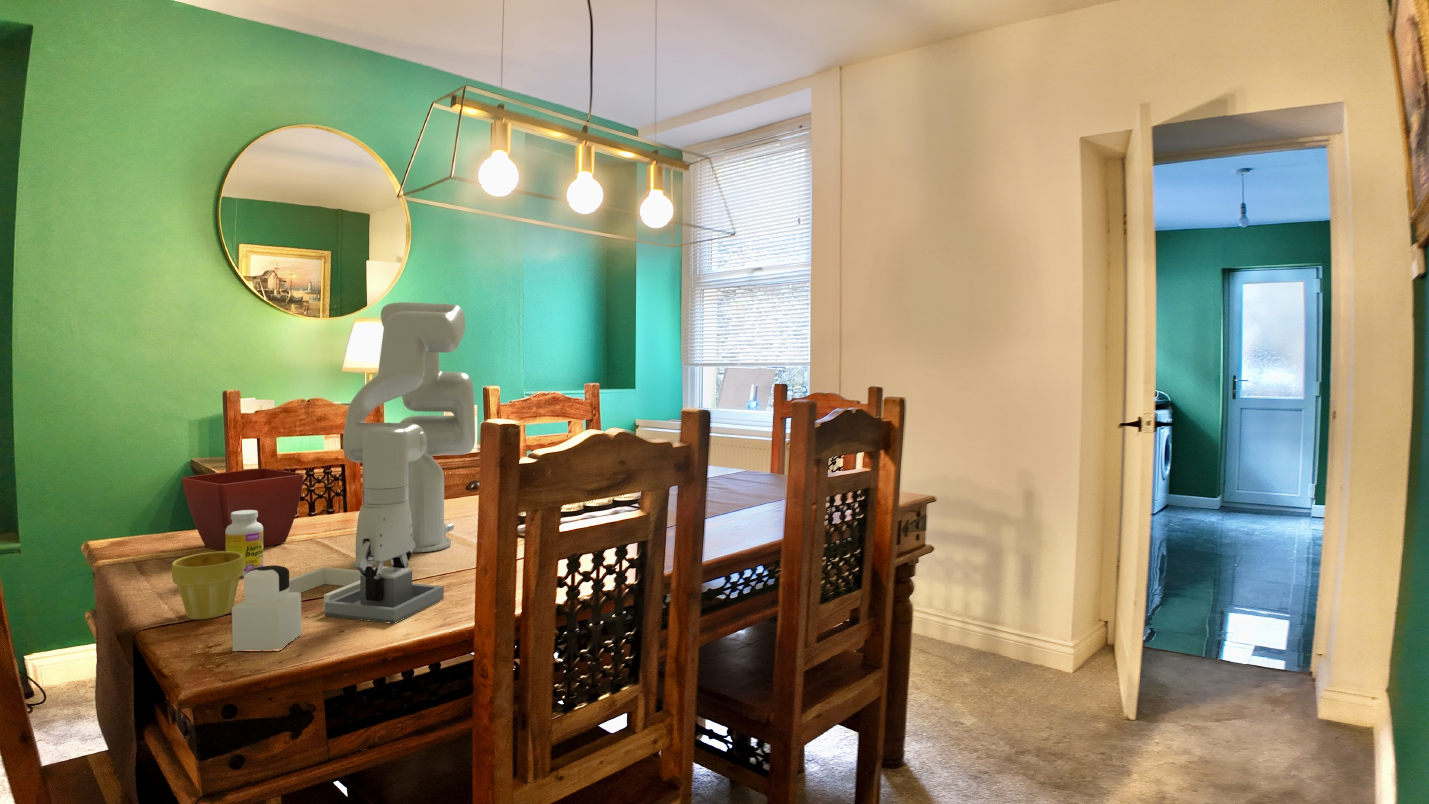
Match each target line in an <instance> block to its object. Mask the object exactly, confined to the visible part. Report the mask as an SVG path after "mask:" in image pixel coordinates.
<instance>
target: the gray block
mask: <svg viewBox="0 0 1429 804" xmlns="http://www.w3.org/2000/svg"><path fill="white" fill-rule="evenodd" d="M372 568H373V569H374V570H375V568H376V566H375V567H372ZM380 578H383V600H382V601H371V600H367V599H366V579H364V578H363V575H362V574H361V573H360V603H361V604H364V605H373V606H382V607H391V608H394V607H396V606H398V605H400V604H402V603H404V602H406V601H408V600H411V599H412V583H413V569H412V568H396V567H392V566H385V565H383V568H382V572H381V577H380Z"/></svg>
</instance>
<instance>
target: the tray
mask: <svg viewBox="0 0 1429 804" xmlns="http://www.w3.org/2000/svg"><path fill="white" fill-rule="evenodd" d="M444 587H445V586H441V585H432V584H424V583H423V584H422V583H414V582H412V599H411V600H408V601H406V602H404V603H402V604H400V605H398V606H396V607H394V608H391V607H382V606H373V605H364V604H361V603H360V588H359V589H357V590H354V591H352V592H349V593H347V594H344V595H342V596H339V597H337V598H335V599H332V600H330V601H327V602H325V611H324V616H325V617H329V616H331V617H332V618H340V619H347V618H349V620H355V619H360V620H359V621H364V620H370V621H369V622H372V621H375V622H374V623H381V622H390V623H395V622H397V621H399V620H401V619H403V618H405V619H407V618H408V617H407V616H409V617H411V616H413V615H415V614H417V613H420V612H421V611H423V610H425V609H427V608H429V607H431V606H432V604H433V605H434V603H435V604H436V603H439V602H441V601H443V600H444V599H445V596H444V595H445V593H444V591H445V589H444ZM442 599H443V600H442ZM440 600H441V601H440ZM438 601H439V602H438ZM428 606H429V607H428ZM426 607H427V608H426ZM422 609H423V610H422ZM420 610H421V611H420ZM414 613H415V614H414ZM412 614H413V615H412ZM410 615H411V616H410ZM331 617H330V618H331ZM406 617H407V618H406ZM361 619H362V620H361ZM403 620H404V619H403ZM401 621H402V620H401ZM399 622H400V621H399ZM390 623H389V624H390ZM397 623H398V622H397ZM395 624H396V623H395Z"/></svg>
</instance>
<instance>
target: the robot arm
mask: <svg viewBox="0 0 1429 804" xmlns="http://www.w3.org/2000/svg"><path fill="white" fill-rule="evenodd" d="M380 320H381V324H382V327H383V329H382V330H383V333H382V338H381V346H380V348H381V349H380V354H379V362H378V371H377V375H376V376H375V377H373V378H372V379H370V380H369V381H368V382H367V383H365V385H363V387H362V388H360V389H359V390H358V392H357V393H356V394H355V395H354V397H353V398H352V400H351V402H350V404H349V406H348V409H347V411H346V417H345V423H344V430H343V438H342V448H343V452H344V456H345V457H346V459H348V460H349V461H351V462H352V463H353V462H354V463H357V464H359V463H361V464H362V505H361V506H360V507H359V508H360V509H359V512H358V516H357V522H356V531H355V533H356V534H355V560H354V562H353V567H354V568H355V569H356V570H359V571H360V573H361V574H362V575H363V578H364V579H366V599H367V600H371V601H382V600H383V578H380V577H381V572H382V568H383V566H384V563H385V562H387V561H390V562H391V567H396V568H406V569H409V561H410V558H411V557H412V553H427V552H429V553H430V552H436V551H439V550H445V549H446V548H449V547H451V545H452V539H451V538H449V537H446V534H447V533H449V532H452V531H453V530H454V529H455V526H454V524H453V523H447V524H445V475H444V473H445V472H444V471H443V468H442V467H441V465H440V464H439V463H438V462H437V460H436V459H435V458H434V457H433V456H461V455H467V454H469V453H471V452H472V451H473V450H474V448H475V443H476V419H475V417H476V416H475V414H476V413H475V412H476V411H475V392H474V385H473V381H472V378H471V377H470V375H468V374H467V373H465V372H461V371H442V370H441V369H440V353H443V354H444V353H453V352H456V350H457V349H458V347H459V345H460V343H461V341H462V339H463V337H464V334H465V331H466V330H465V329H466V318H465V312H464V311H463V309H462V308H461V307H460V306H459V305H458V304H452V303H435V302H434V303H429V302H414V301H413V302H409V301H408V302H407V301H406V302H405V301H404V302H403V301H401V302H398V301H397V302H392V303H387V304H385V305H384V306H382V309H381V312H380ZM400 397H401V399H402V403H403V405H404V407H405V409H407V410H409V411H412V412H423V413H424V412H426V413H427V412H432V413H439V412H442V413H444V412H445V413H451V414H452V415H438V414H433V415H431V414H430V415H429V414H428V415H426V414H423V415H422V414H421V415H413V416H412V415H411V416H408V417H405V418H403V419H402V420H401V421H400V422H366V419H367V417H368V416H369V414H370V413H371V412H372V411H373V410H375V409H376V408H377V407H380V406H381V405H382V404H384V403H387V402H390V401H392V400H394V399H397V398H400ZM373 565H375V567H376V568H375V567H373ZM373 568H375V570H374V569H373Z"/></svg>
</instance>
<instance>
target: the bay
mask: <svg viewBox="0 0 1429 804" xmlns="http://www.w3.org/2000/svg"><path fill="white" fill-rule="evenodd" d="M322 585H332V586H333V585H334V586H341V587H339V588H336V589H335V590H332V591H329V592H328V593H324V594H323V611H324V612H325V602H327V601H330V600H332V599H335V598H337V597H339V596H342V595H344V594H347V593H349V592H352V591H354V590H357V589H359V588H360V571H359V570H358V569H350V568H340V567H338V568H337V567H329V566H328V567H327V566H323V567H319V568H317V569H314V570H311V571H308V572H305V573H303V574H300V575H299V574H298V575H297V576H294V577H292V578H290V577H289V592H288V593H295V592H299V593H301V594H302V593H304V592H306V591H309V590H312V589H315V588H317V587H321V586H322Z"/></svg>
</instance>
